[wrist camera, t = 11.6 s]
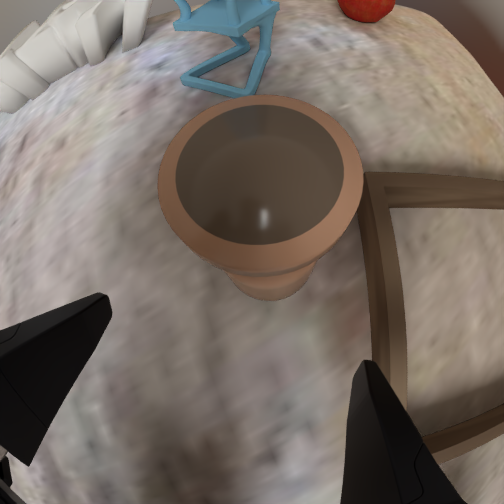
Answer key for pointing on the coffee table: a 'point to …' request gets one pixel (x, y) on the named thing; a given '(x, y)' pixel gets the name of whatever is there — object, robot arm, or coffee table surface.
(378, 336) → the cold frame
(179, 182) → the terracotta pot
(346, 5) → the apple
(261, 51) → the chair
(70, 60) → the white wavy slab sculpture
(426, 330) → the coffee table surface
